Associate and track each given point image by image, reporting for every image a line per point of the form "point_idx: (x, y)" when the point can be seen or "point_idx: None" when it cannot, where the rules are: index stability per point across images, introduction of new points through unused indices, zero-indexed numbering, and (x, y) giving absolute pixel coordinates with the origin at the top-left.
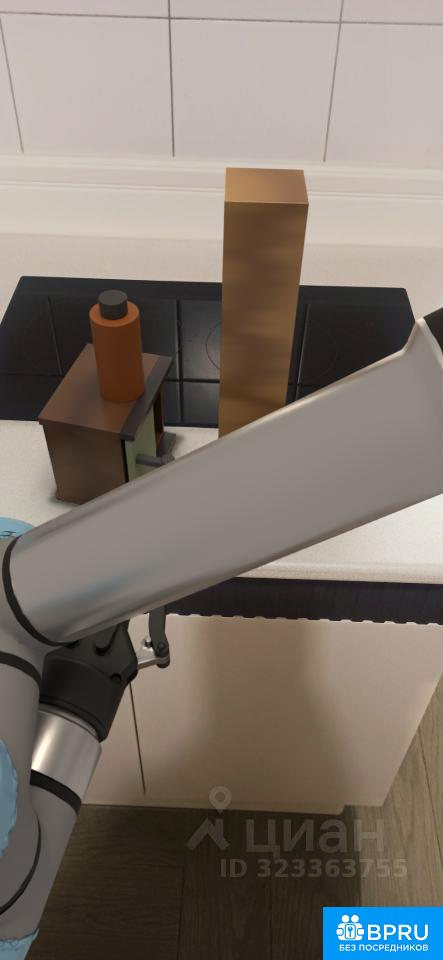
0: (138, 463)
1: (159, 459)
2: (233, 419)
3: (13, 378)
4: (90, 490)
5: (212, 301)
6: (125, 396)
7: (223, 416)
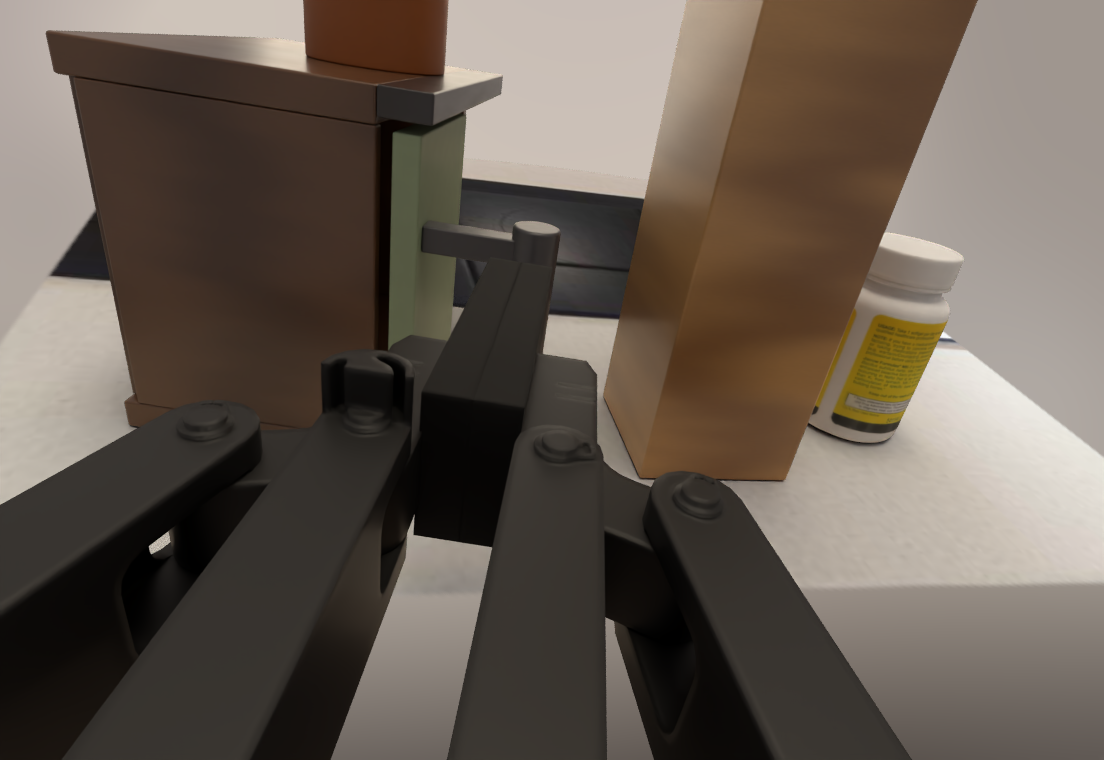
0: (429, 250)
1: (504, 234)
2: (804, 36)
3: (96, 226)
4: (246, 378)
5: (496, 193)
6: (392, 46)
7: (775, 17)
